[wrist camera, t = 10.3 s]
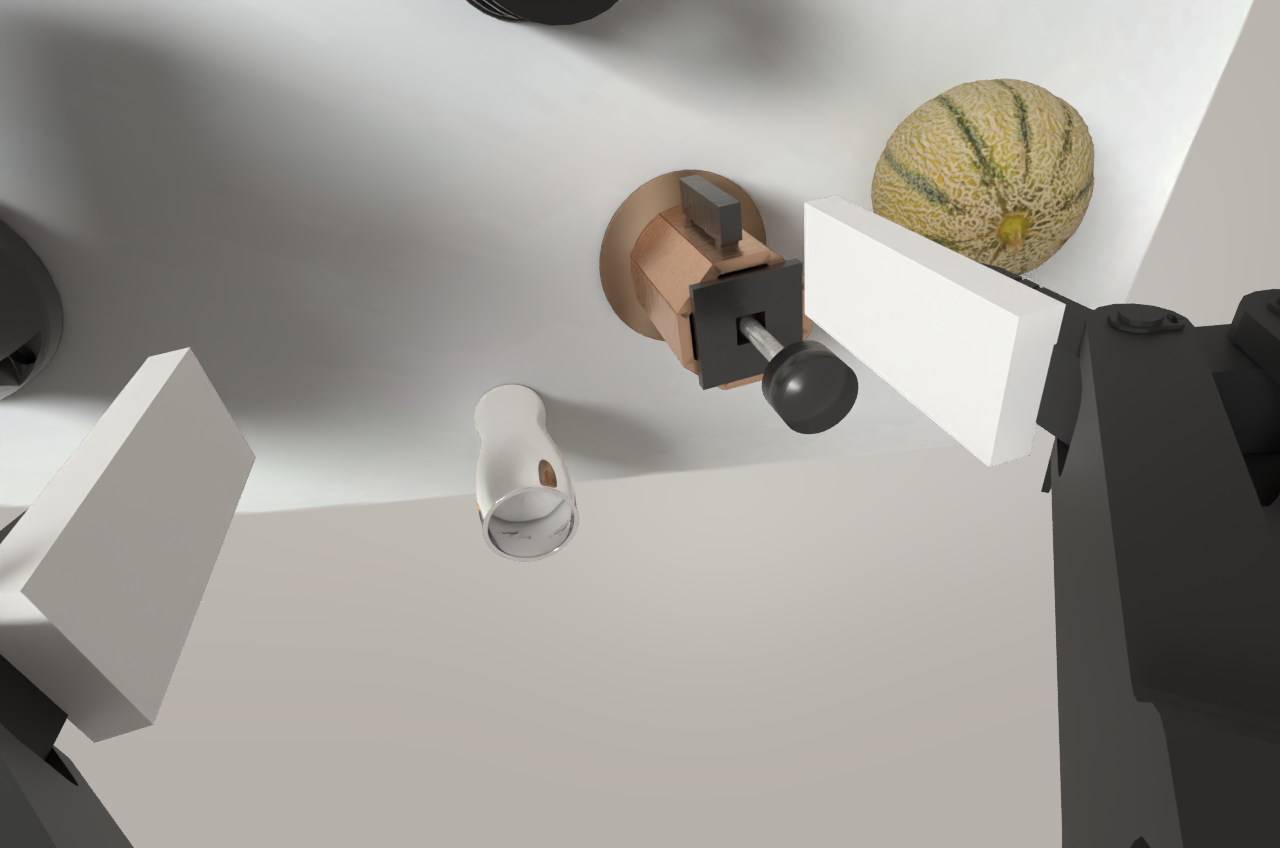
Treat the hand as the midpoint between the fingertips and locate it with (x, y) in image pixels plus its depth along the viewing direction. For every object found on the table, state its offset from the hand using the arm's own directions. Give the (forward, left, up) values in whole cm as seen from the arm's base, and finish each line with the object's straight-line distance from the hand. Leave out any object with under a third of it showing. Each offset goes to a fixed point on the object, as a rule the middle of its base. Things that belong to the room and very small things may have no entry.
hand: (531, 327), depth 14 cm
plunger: (+14, -14, -34) cm, 40 cm away
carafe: (+14, -13, -36) cm, 41 cm away
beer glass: (-3, -24, -37) cm, 44 cm away
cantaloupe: (+35, -11, -37) cm, 52 cm away
